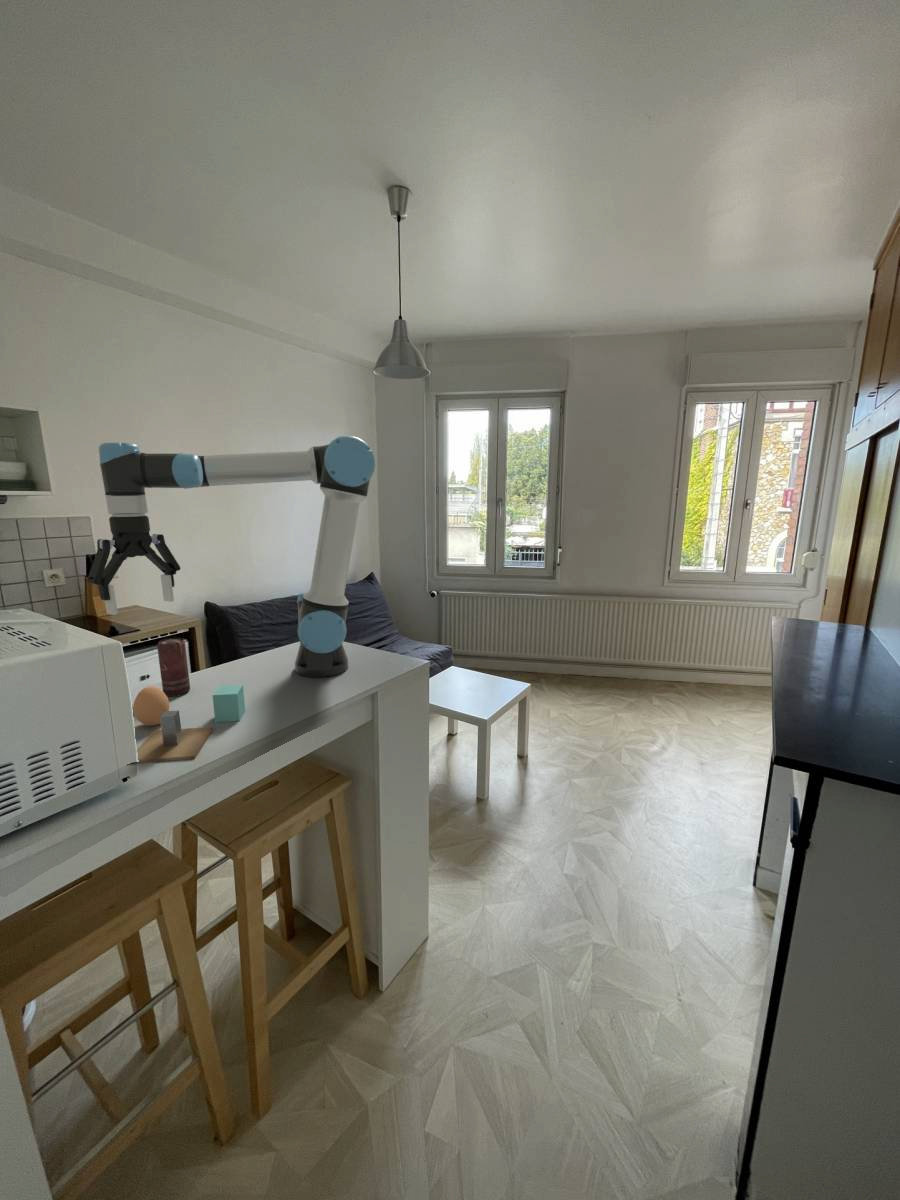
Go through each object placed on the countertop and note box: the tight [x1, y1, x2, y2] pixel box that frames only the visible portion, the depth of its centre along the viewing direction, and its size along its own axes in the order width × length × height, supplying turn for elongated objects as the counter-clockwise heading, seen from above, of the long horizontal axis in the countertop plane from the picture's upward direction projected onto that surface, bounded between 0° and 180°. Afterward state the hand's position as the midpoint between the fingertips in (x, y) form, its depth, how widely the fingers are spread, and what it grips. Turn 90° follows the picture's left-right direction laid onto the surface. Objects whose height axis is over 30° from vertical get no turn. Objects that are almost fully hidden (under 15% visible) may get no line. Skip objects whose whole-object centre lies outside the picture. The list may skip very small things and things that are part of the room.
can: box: [156, 637, 191, 698], centre depth 124 cm, size 6×6×14 cm
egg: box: [133, 685, 170, 727], centre depth 108 cm, size 7×7×9 cm
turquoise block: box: [212, 684, 246, 723], centre depth 113 cm, size 5×5×7 cm
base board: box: [136, 726, 215, 764], centre depth 100 cm, size 12×12×1 cm
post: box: [160, 710, 182, 746], centre depth 100 cm, size 3×3×6 cm
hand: (142, 607), depth 115 cm, fingers open, 13 cm apart
